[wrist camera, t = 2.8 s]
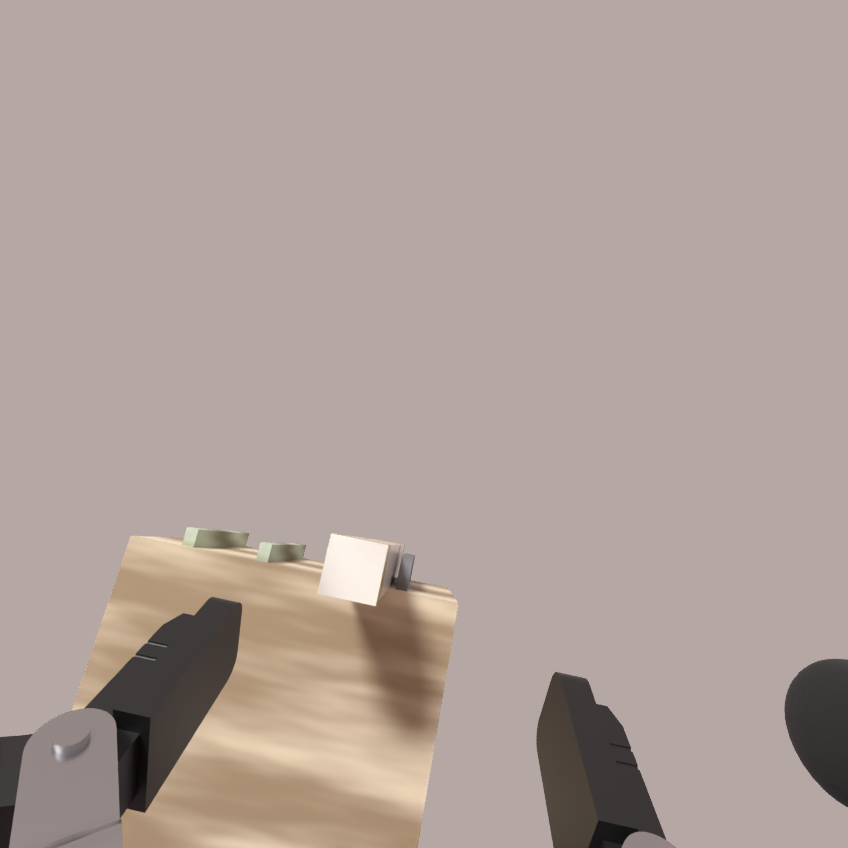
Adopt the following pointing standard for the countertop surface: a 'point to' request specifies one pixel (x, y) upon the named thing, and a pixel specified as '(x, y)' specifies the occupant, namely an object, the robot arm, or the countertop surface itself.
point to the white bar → (359, 568)
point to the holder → (287, 698)
